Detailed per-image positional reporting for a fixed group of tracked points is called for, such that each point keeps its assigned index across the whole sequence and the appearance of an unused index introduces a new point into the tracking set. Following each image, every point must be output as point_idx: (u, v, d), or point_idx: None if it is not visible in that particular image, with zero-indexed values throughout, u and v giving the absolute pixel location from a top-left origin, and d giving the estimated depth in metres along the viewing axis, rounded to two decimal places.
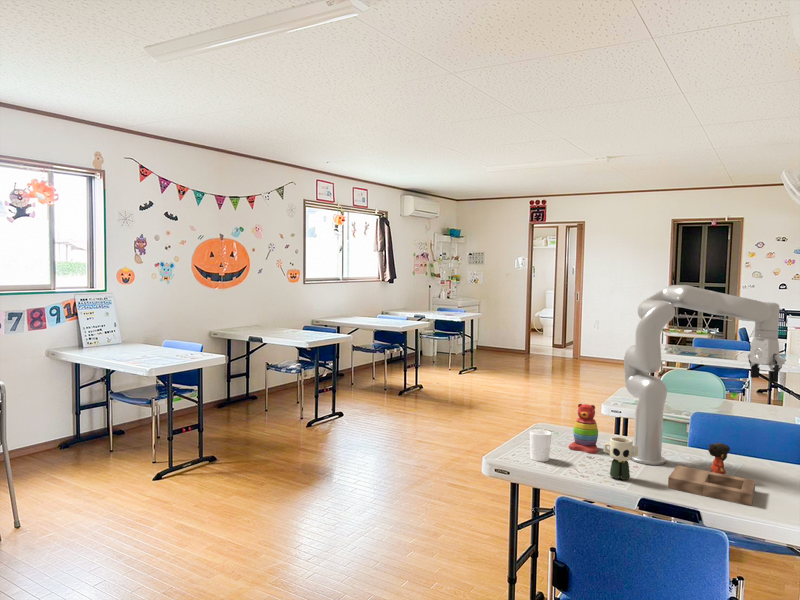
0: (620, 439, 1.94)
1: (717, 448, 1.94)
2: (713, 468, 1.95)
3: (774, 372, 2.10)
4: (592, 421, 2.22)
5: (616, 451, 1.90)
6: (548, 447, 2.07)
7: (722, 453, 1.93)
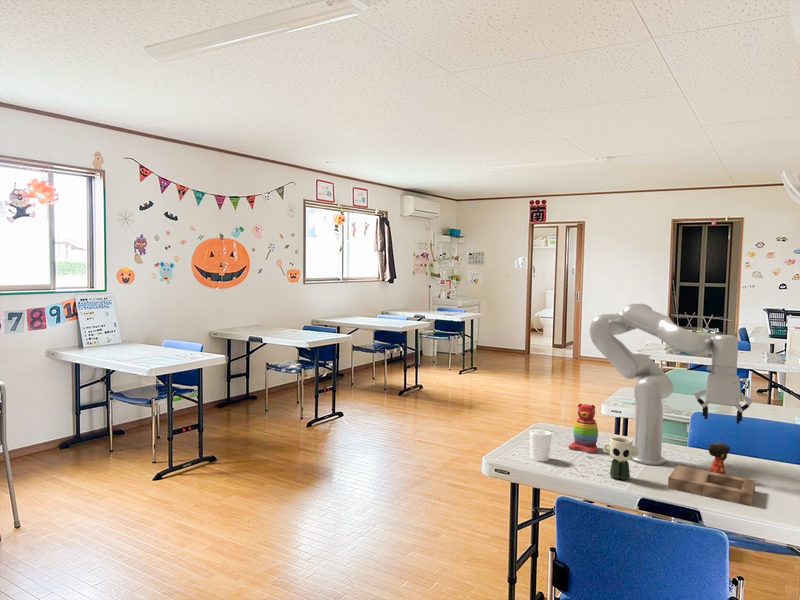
0: (620, 439, 1.94)
1: (717, 448, 1.94)
2: (713, 468, 1.95)
3: (741, 412, 1.91)
4: (592, 421, 2.22)
5: (616, 451, 1.90)
6: (548, 447, 2.07)
7: (722, 453, 1.93)
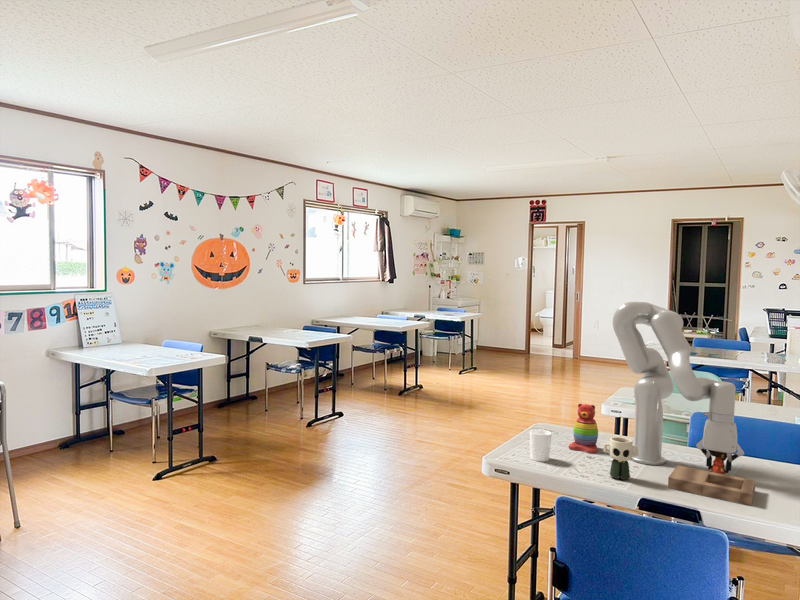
0: (620, 439, 1.94)
1: None
2: (713, 468, 1.95)
3: (731, 462, 1.93)
4: (592, 421, 2.22)
5: (616, 451, 1.90)
6: (548, 447, 2.07)
7: (722, 453, 1.93)
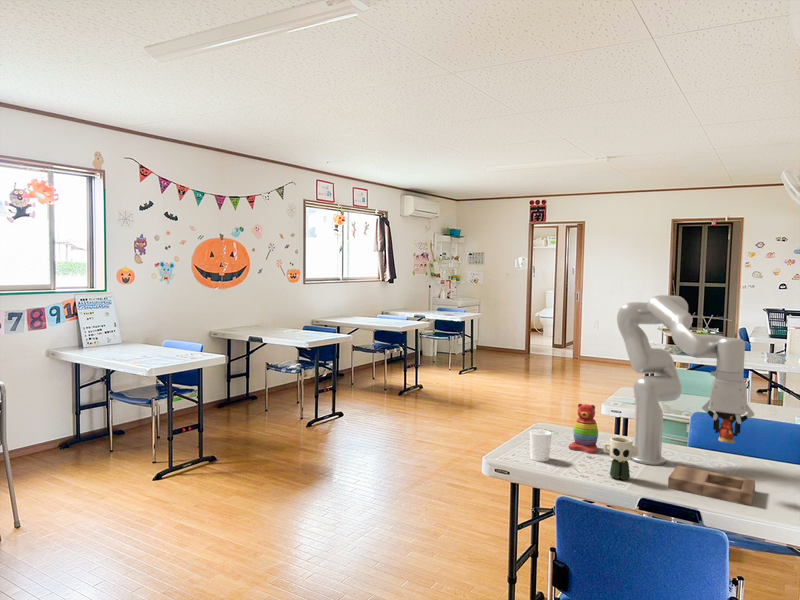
0: (620, 439, 1.94)
1: None
2: (721, 431, 1.80)
3: (740, 424, 1.78)
4: (592, 421, 2.22)
5: (616, 451, 1.90)
6: (548, 447, 2.07)
7: (731, 415, 1.79)
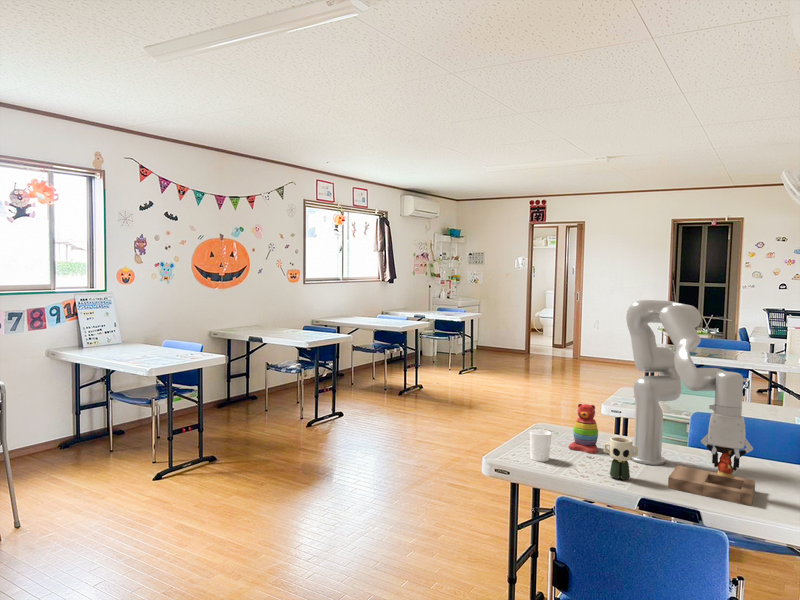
0: (620, 439, 1.94)
1: None
2: (720, 465, 1.80)
3: (738, 459, 1.78)
4: (592, 421, 2.22)
5: (616, 451, 1.90)
6: (548, 447, 2.07)
7: (729, 449, 1.79)
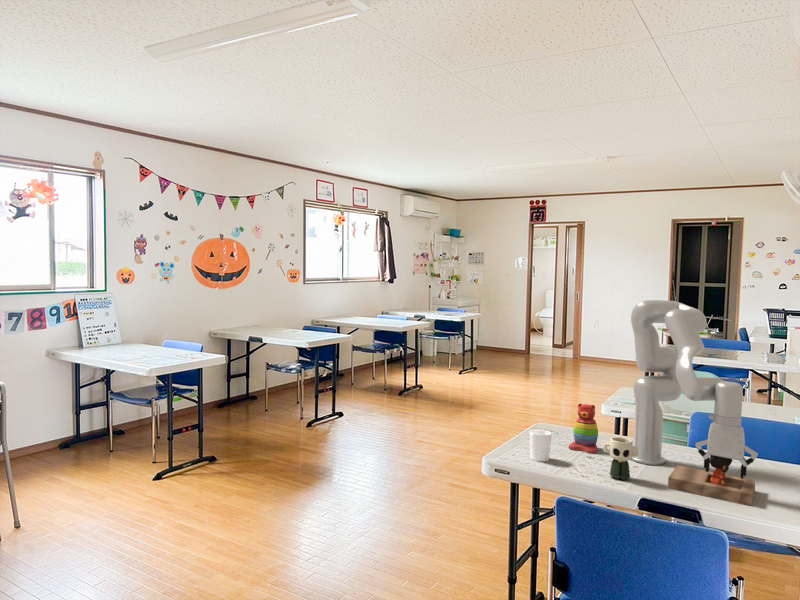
0: (620, 439, 1.94)
1: (719, 459, 1.81)
2: (713, 480, 1.81)
3: (746, 467, 1.77)
4: (592, 421, 2.22)
5: (616, 451, 1.90)
6: (548, 447, 2.07)
7: (724, 465, 1.80)
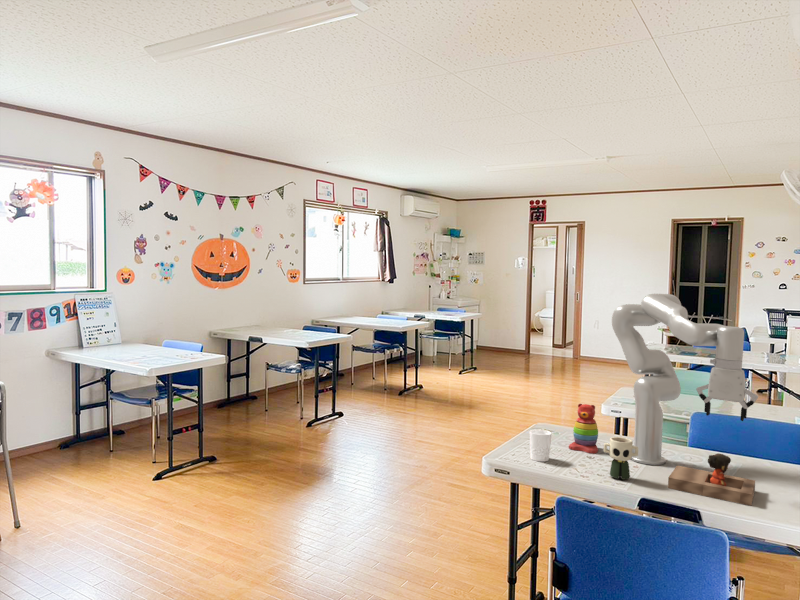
0: (620, 439, 1.94)
1: (717, 459, 1.81)
2: (713, 481, 1.81)
3: (746, 409, 1.79)
4: (592, 421, 2.22)
5: (616, 451, 1.90)
6: (548, 447, 2.07)
7: (723, 465, 1.80)
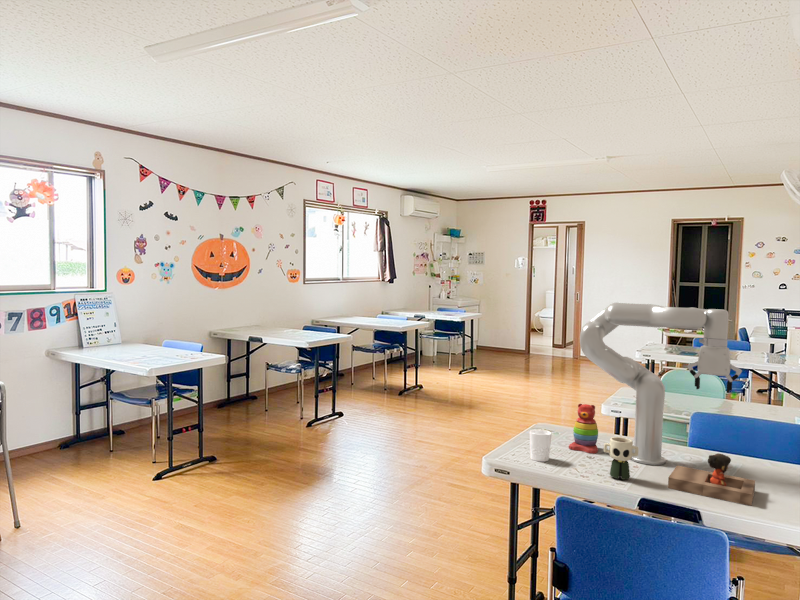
0: (620, 439, 1.94)
1: (717, 459, 1.81)
2: (713, 481, 1.81)
3: (731, 382, 2.01)
4: (592, 421, 2.22)
5: (616, 451, 1.90)
6: (548, 447, 2.07)
7: (723, 465, 1.80)
